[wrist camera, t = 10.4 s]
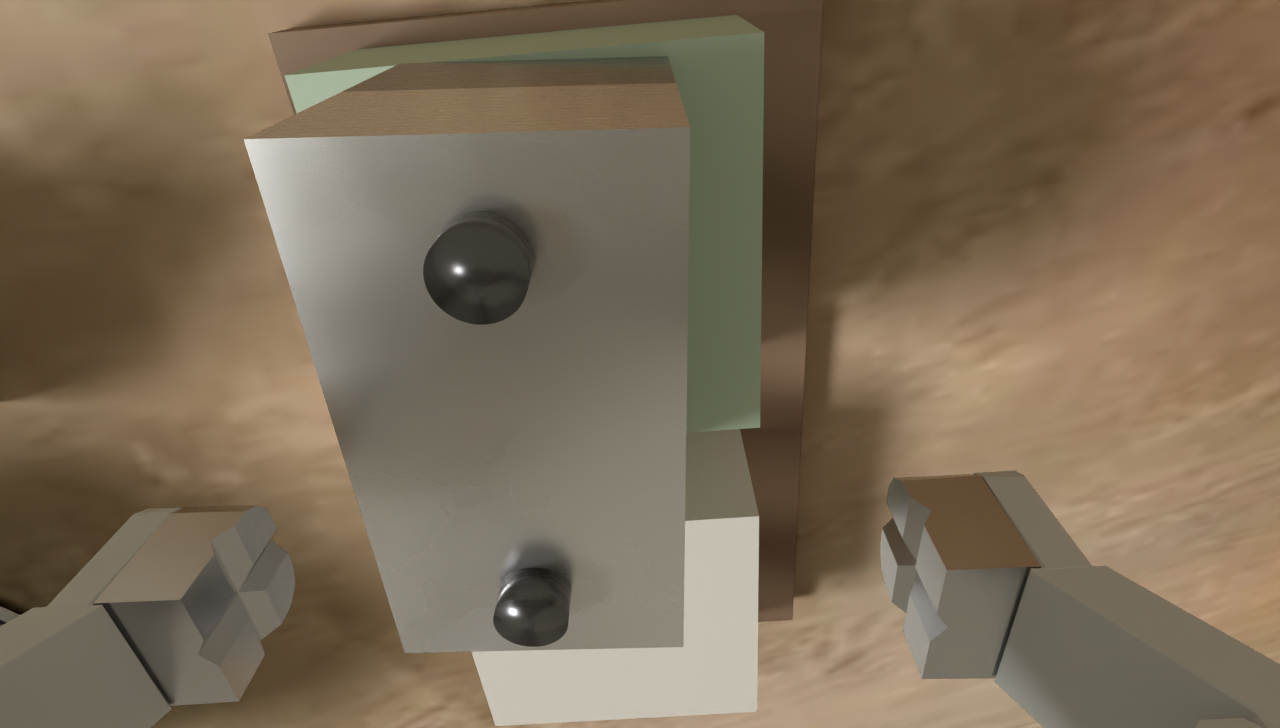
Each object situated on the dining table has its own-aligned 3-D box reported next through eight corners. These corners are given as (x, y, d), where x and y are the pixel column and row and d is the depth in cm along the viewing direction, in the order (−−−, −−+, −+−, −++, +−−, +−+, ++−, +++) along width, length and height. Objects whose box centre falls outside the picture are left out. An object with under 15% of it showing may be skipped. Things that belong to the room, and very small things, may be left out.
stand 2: (741, 614, 27) (756, 711, 23) (513, 628, 27) (495, 726, 24) (740, 428, 22) (758, 516, 19) (464, 447, 23) (434, 537, 19)
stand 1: (739, 348, 21) (760, 427, 17) (443, 370, 21) (407, 452, 18) (736, 14, 16) (764, 32, 13) (357, 49, 16) (284, 75, 13)
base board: (787, 599, 28) (792, 619, 27) (470, 618, 28) (465, 639, 27) (814, -20, 17) (823, -18, 16) (286, 29, 17) (267, 33, 16)
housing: (667, 56, 13) (694, 139, 7) (668, 441, 17) (686, 677, 12) (400, 63, 13) (216, 153, 7) (472, 446, 17) (394, 683, 12)
